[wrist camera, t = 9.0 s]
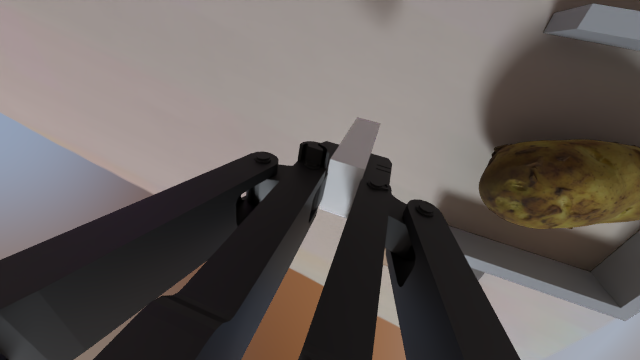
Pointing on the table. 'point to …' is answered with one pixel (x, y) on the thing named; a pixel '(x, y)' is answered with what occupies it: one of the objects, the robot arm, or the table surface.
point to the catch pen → (549, 275)
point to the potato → (563, 183)
